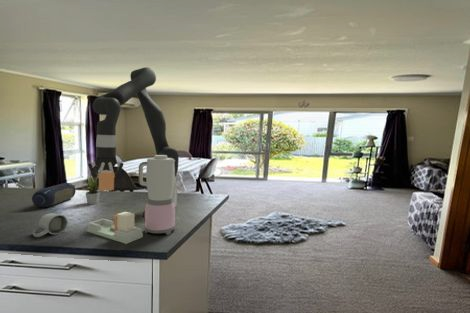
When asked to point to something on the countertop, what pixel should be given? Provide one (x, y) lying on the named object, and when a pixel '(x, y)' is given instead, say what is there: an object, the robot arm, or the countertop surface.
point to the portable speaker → (53, 195)
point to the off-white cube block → (106, 180)
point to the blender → (159, 194)
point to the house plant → (92, 191)
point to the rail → (111, 234)
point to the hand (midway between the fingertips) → (105, 186)
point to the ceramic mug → (51, 224)
